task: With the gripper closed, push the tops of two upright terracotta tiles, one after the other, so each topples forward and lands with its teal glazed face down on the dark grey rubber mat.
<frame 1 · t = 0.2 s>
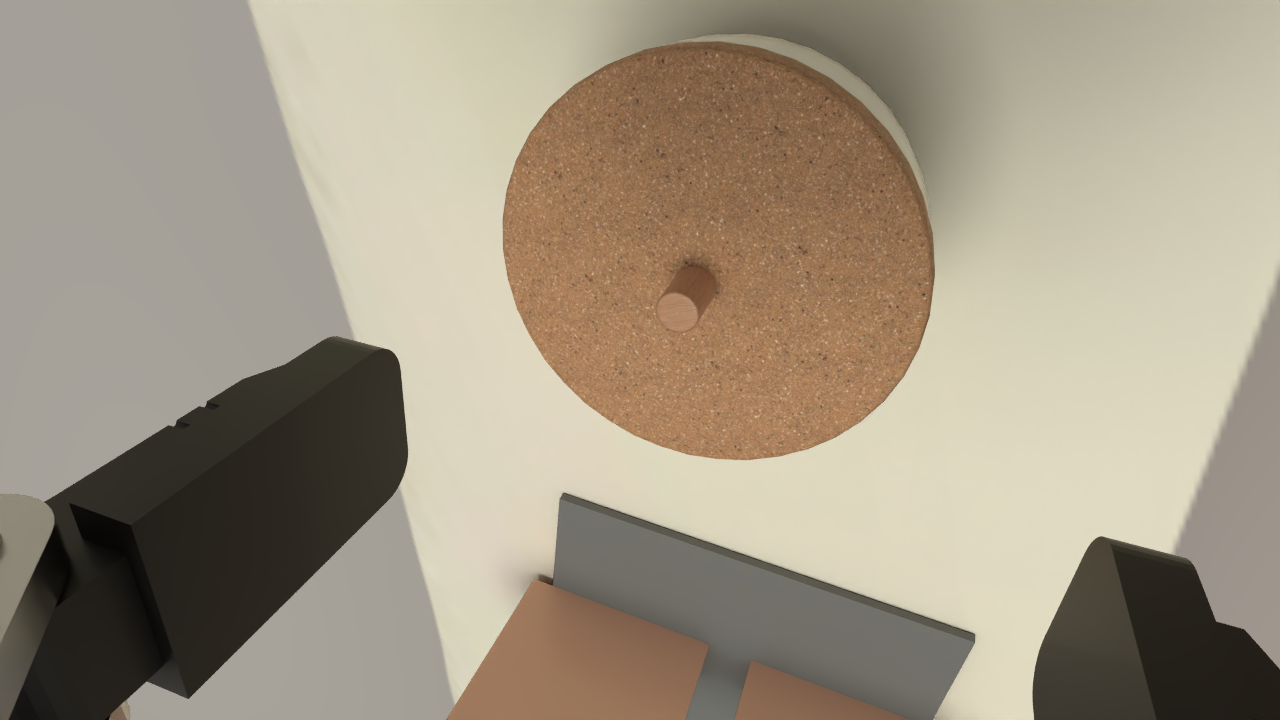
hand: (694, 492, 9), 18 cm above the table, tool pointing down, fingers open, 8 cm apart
tile 1: (617, 626, 38), resting on mat
lidded jar: (765, 183, 25), on the table
mat: (724, 674, 37), on the table
tile 2: (841, 712, 35), resting on mat
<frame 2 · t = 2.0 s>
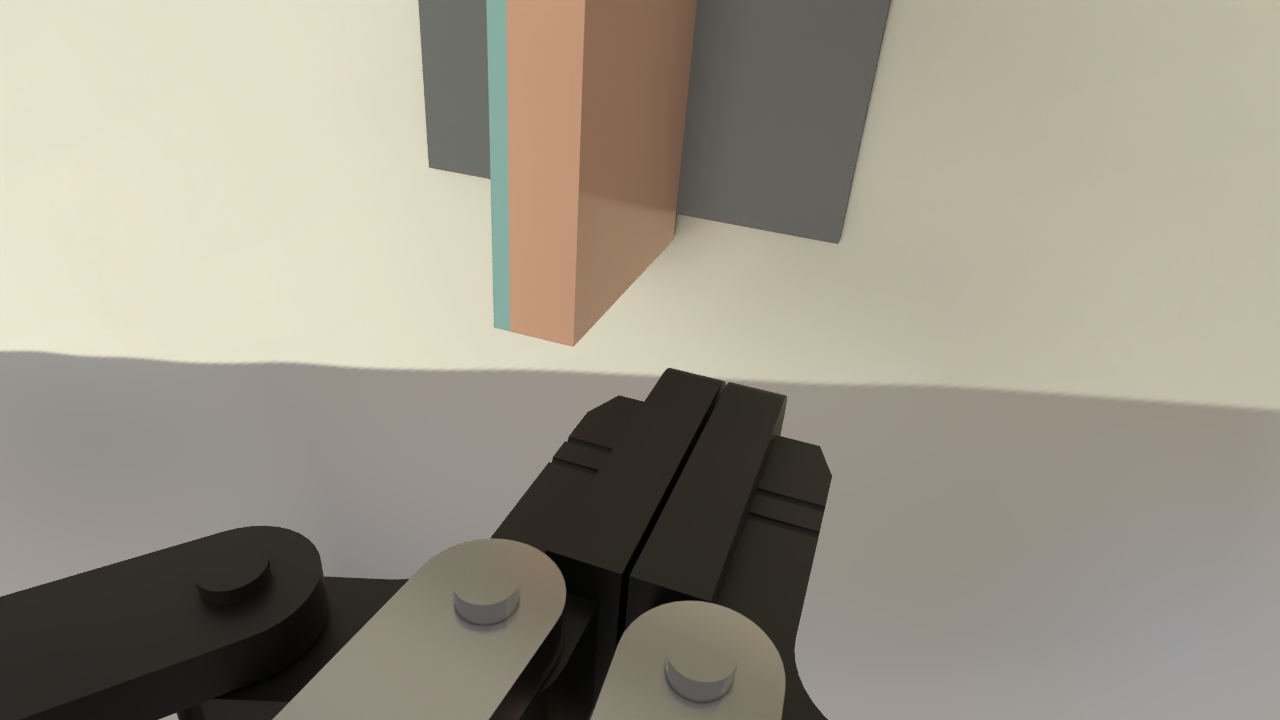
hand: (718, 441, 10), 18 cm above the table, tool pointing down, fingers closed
tile 2: (652, 108, 27), resting on mat
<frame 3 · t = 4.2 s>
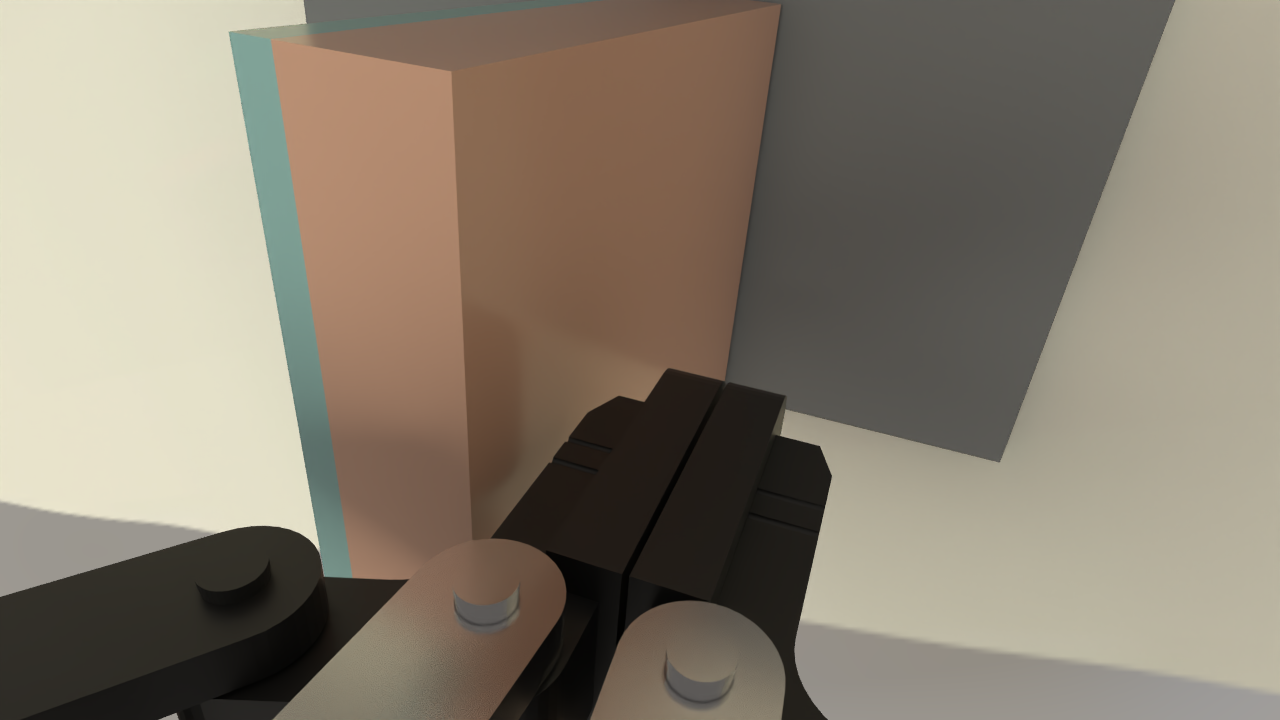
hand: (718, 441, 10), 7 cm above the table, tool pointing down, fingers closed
tile 2: (688, 238, 16), point 1 cm above the table, tilted 6°, touching gripper, mat
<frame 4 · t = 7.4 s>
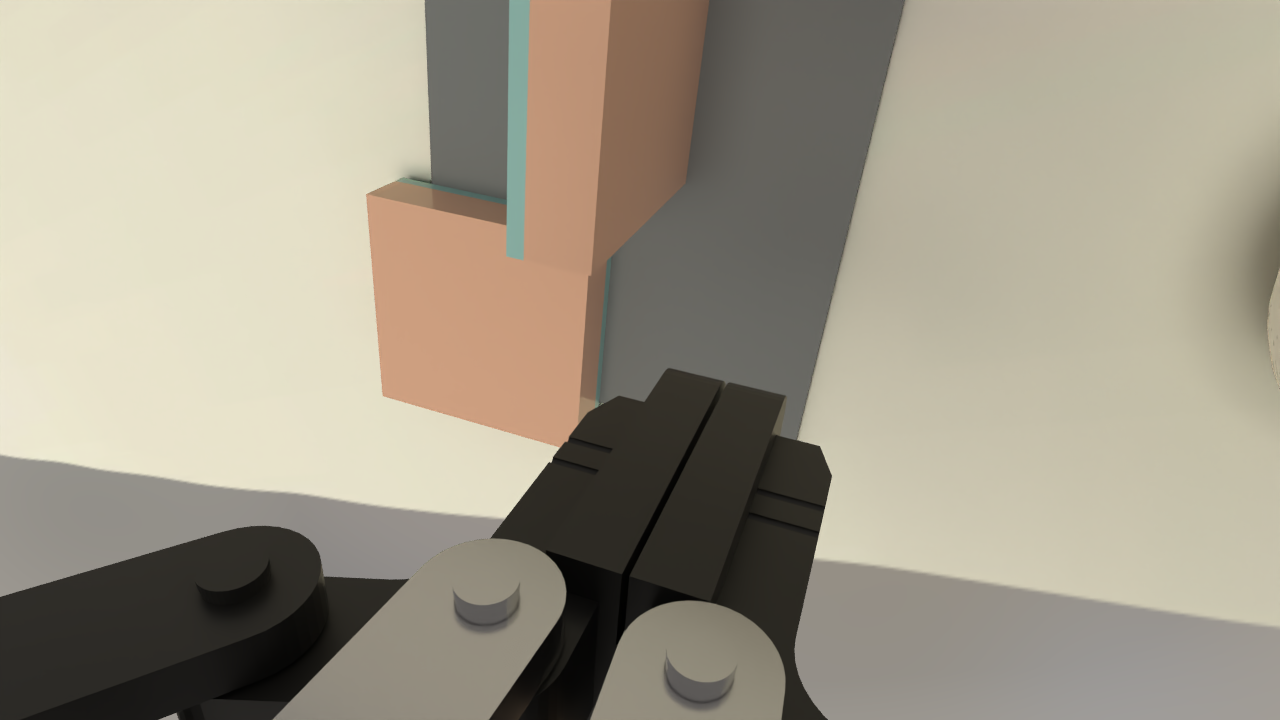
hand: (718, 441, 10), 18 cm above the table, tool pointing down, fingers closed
tile 1: (667, 42, 25), resting on mat
mat: (627, 195, 29), on the table
tile 2: (594, 342, 30), point 2 cm above the table, tilted 90°, touching mat
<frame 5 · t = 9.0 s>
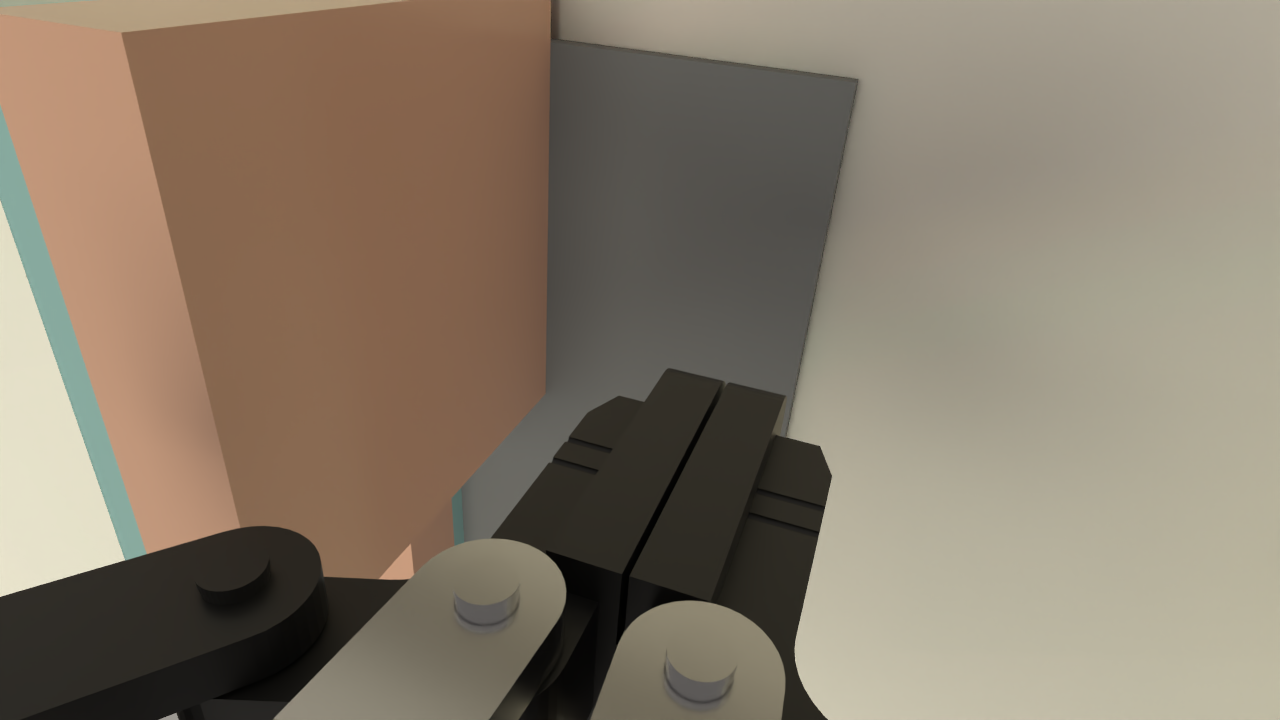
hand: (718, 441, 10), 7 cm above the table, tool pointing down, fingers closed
tile 1: (498, 206, 17), resting on mat
mat: (475, 398, 20), on the table
tile 2: (442, 589, 22), point 2 cm above the table, tilted 90°, touching mat
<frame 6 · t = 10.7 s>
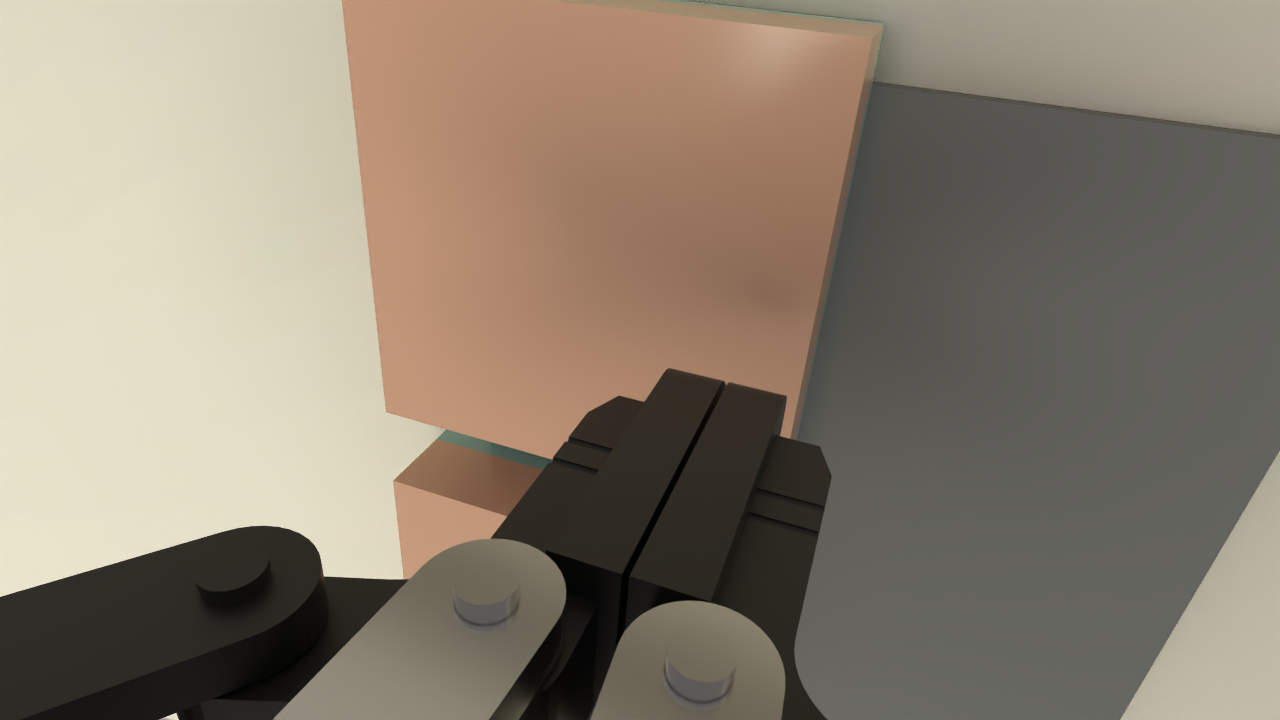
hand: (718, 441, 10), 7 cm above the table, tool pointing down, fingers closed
tile 1: (824, 294, 14), point 2 cm above the table, tilted 90°, touching mat
mat: (801, 484, 18), on the table
tile 2: (741, 688, 20), point 2 cm above the table, tilted 90°, touching mat
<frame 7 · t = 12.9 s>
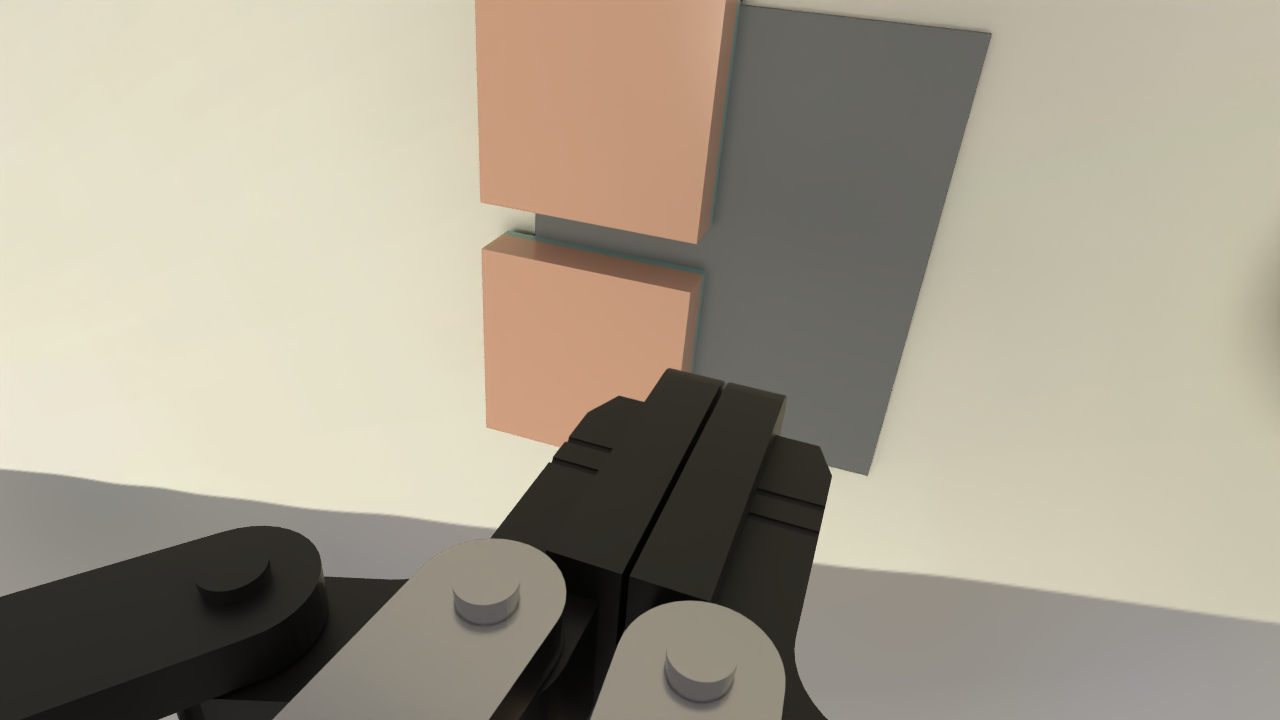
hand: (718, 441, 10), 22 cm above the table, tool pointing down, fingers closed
tile 1: (719, 114, 28), point 2 cm above the table, tilted 90°, touching mat
mat: (718, 245, 32), on the table
tile 2: (686, 377, 33), point 2 cm above the table, tilted 90°, touching mat
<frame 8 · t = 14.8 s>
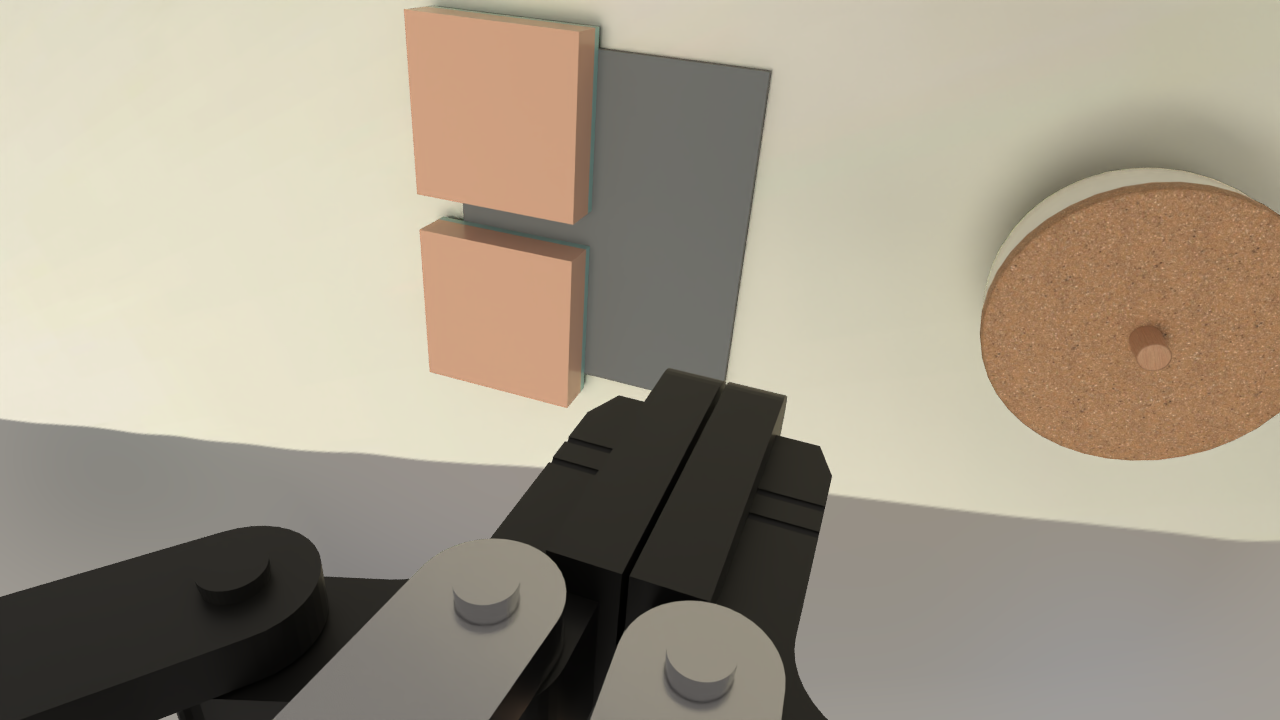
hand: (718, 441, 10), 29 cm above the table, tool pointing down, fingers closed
tile 1: (585, 128, 38), point 2 cm above the table, tilted 90°, touching mat
lidded jar: (1108, 260, 34), on the table
mat: (598, 227, 42), on the table
tile 2: (578, 329, 43), point 2 cm above the table, tilted 90°, touching mat
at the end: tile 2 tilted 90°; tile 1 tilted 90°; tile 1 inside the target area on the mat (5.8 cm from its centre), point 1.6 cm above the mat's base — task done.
